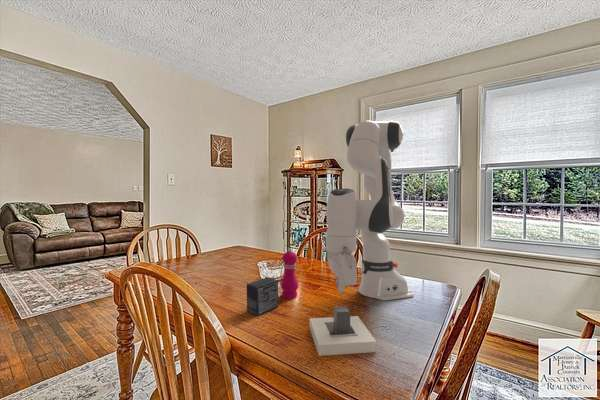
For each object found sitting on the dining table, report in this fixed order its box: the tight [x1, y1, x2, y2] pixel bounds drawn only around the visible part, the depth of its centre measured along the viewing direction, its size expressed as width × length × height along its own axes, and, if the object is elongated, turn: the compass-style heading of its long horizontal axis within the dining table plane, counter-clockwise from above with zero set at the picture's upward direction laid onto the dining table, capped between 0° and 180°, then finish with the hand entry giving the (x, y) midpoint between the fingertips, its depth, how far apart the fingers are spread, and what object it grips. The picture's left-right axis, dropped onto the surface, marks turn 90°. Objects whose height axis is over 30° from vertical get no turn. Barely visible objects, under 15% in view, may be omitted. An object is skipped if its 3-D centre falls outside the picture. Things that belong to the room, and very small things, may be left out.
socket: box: [309, 315, 377, 357], centre depth 88 cm, size 16×16×3 cm
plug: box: [333, 305, 351, 335], centre depth 88 cm, size 4×4×9 cm
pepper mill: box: [280, 247, 299, 300], centre depth 122 cm, size 7×7×20 cm
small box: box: [246, 277, 279, 317], centre depth 109 cm, size 11×6×10 cm, turn 141°
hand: (340, 290), depth 88 cm, fingers closed
